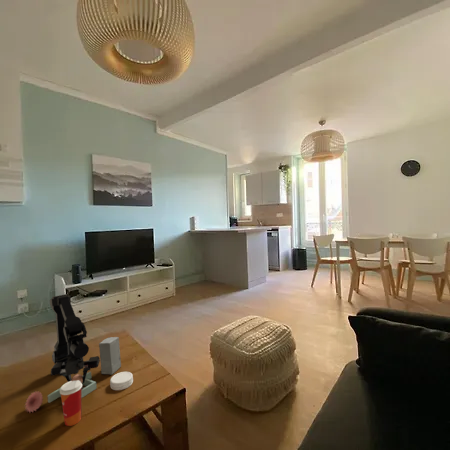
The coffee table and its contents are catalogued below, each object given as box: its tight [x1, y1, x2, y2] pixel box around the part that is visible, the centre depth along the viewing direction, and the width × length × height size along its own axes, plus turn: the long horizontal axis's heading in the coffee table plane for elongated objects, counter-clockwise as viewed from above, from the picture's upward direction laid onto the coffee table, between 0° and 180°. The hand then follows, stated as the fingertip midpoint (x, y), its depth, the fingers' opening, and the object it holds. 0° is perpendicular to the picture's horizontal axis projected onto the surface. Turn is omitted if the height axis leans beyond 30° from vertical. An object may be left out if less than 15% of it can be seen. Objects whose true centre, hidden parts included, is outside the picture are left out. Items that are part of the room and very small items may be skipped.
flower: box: [24, 390, 44, 414], centre depth 114 cm, size 8×8×6 cm
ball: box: [71, 373, 83, 383], centre depth 124 cm, size 5×5×5 cm
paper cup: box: [60, 380, 83, 427], centre depth 106 cm, size 8×8×14 cm
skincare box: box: [98, 336, 122, 376], centre depth 141 cm, size 8×7×16 cm
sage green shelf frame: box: [47, 371, 97, 403], centre depth 124 cm, size 11×20×3 cm, turn 151°
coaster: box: [109, 371, 134, 391], centre depth 129 cm, size 10×10×4 cm
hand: (77, 383), depth 124 cm, fingers closed on ball, 5 cm apart
